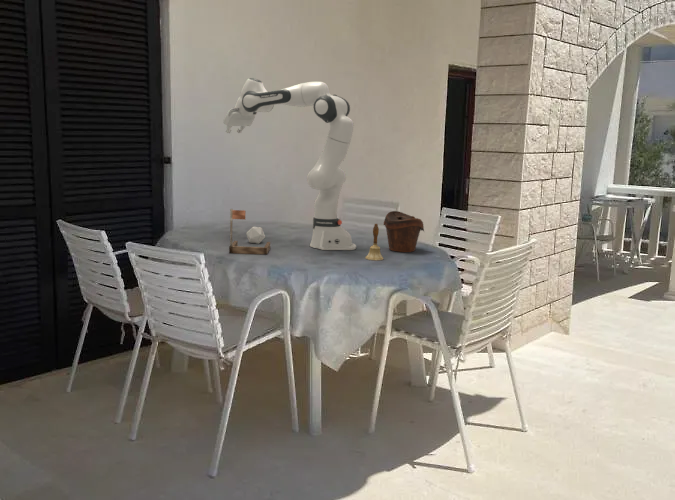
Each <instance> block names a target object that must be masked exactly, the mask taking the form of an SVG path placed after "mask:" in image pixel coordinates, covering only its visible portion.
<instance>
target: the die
mask: <svg viewBox="0 0 675 500" xmlns="http://www.w3.org/2000/svg"><path fill="white" fill-rule="evenodd" d="M245 234H246V237H247V239H248V241H249V243H250V244H258V245H259V244H260V243H261V242H262V241H263V240H264V239H265V238H266V235H265V232H264V230H263V227H259V226H252V227H251V228H250V229H248V231H247V232H246V233H245Z"/></svg>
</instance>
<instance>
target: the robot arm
mask: <svg viewBox="0 0 675 500" xmlns="http://www.w3.org/2000/svg"><path fill="white" fill-rule="evenodd" d="M275 105H284V106H291V107H297V108H302V107H304V108H305V107H311V106H313V112H314V114H315V115H316V116H317V117H318V118H319V119H321V120H322V121H324V122H325V124H329V129H328V133H327V137H326V139H325V143H324V146H323V150H322V151H321V154H320V155H319V157H318V159H317V161H316V163H315V164H314V166H313V167H312V169H310V170H309V171H308V174H307V176H306V181H307V184H308V187H310V188H311V189H315V190H317V191H318V195H317V196H316V199H315V200H314V207H313V213H314V215H313V219H312V234H311V235H312V236H311V241H310V244H309V246H310V248H314V249H318V250H322V251H353V250H356V249H357V245H356V244H355V243H353V240H352V235H351V233H350V232H348V231H347V230H346V229H345V228H344V227H343V226H341V225H342V224H343V221H342V220H341V219H340V218H338V203H339V198H340V194H341V192H342V191H341V190H342V187H343V185H344V184H345V182H346V179H347V174H346V171H344V169H343V168H342V167H340V166H341V164H342V162H344V160H345V159H346V157H347V155H348V151H349V147H350V143H351V141H352V137H353V132H354V126H355V125H354V120H353V119H351V118H350V117H349V115H350V111H351V107H350V106H351V105H350V103H349V101H348V100H346V99H345V98H344V97H341V96H339V95H337V94H331V91H330V88H329V86H328V84H327V83H325V82H323V81H308V82H301V83H299V84H295V85H292V86H287V87H285V88H282V89H277V90H271V91H268V90H267V89H266V88H265V86H264V82H263V81H262V80H260V79H257V78H254V77H250V78H247V80H245V82H244V84H243V86H242V89H241V91H240V95H239V96H238V98H237V101H236V103H235V106H234V107H232V108H230V109H229V110H228V111H227V113H226V115H225V116H224V119H223V124H224V125H226V131H225V132H226V134H231V133H232V132H231V131H232V130H231V128H232V127H238V128H237V130H236V132H237V133H238V134H242V132H243V131H244V129H246V127H250V126H251V125H252V124H253V123H254V121H255V118H256V115H257V114H258V113H269V112H271V111H272V110H273V109H274V106H275Z"/></svg>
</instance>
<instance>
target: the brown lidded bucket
mask: <svg viewBox="0 0 675 500" xmlns="http://www.w3.org/2000/svg"><path fill="white" fill-rule="evenodd" d="M383 226H384V227H385V229H386V237H387V243H388V249H389V250H390V251H393V252H397V253H398V252H400V253H412V252H415V251H416V248H417V243H418V240H419V237H420V233H421V231H423V232H425V229H424V228H425V227H424V222H423V221H422V219H421V218H417V217H415V216H414V215H412V216H411V215H410V214H408V213H407V214H406V213H404V212H402V211H398V210H393V211H390V212H388V213H387V214H386V215H385V218H384V220H383Z"/></svg>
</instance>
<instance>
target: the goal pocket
mask: <svg viewBox="0 0 675 500" xmlns="http://www.w3.org/2000/svg"><path fill="white" fill-rule="evenodd" d="M229 210H230V212H229V215H230V217H229V221H230V222H229V224H230V225H229V228H230V230H229V231H230V232H229V235H230V236H229V247H228V248H229V249H228V250H229V251H228V253H229V254H240V255H241V254H242V255H244V254H245V255H265V256H266V255H268V253H269V252H270V249H271V241H266V243H265V245H264V246H241V245H240V246H239V244H238V240H233V220H246V210H244V209H242V210H241V209H239V210H235V209H233V208H230V209H229Z"/></svg>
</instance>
